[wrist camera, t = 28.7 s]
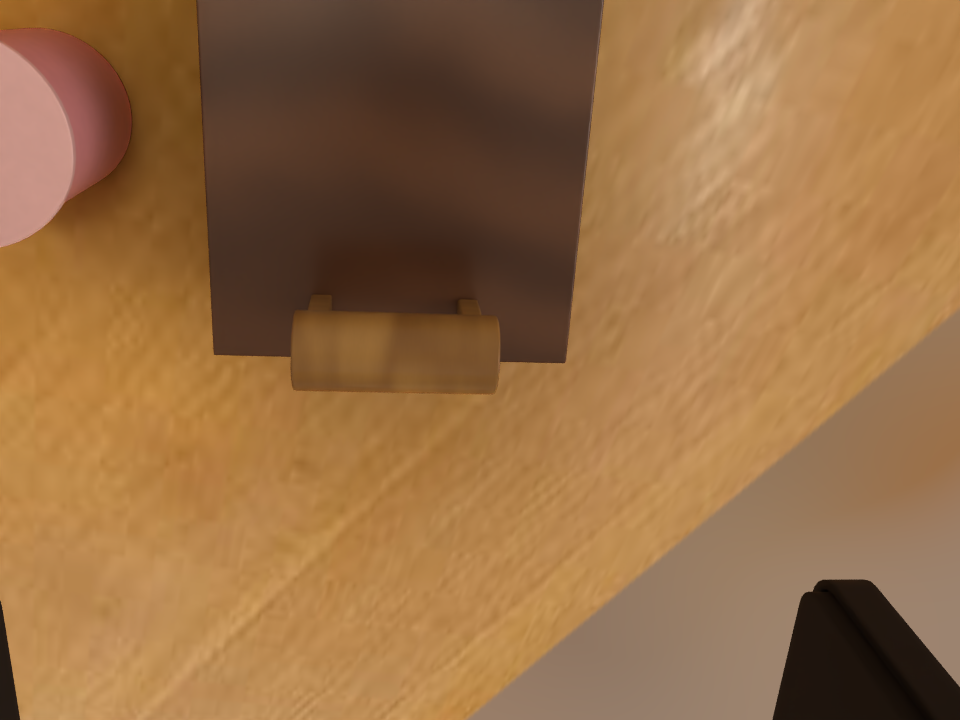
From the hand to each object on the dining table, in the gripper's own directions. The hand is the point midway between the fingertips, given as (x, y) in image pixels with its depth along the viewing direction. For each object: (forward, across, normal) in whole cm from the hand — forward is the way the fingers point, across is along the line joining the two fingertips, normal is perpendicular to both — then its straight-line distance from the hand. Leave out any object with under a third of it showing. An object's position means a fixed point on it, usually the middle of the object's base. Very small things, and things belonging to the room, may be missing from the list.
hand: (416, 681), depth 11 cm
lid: (+22, 0, -5) cm, 22 cm away
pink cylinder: (+28, +13, -3) cm, 31 cm away
